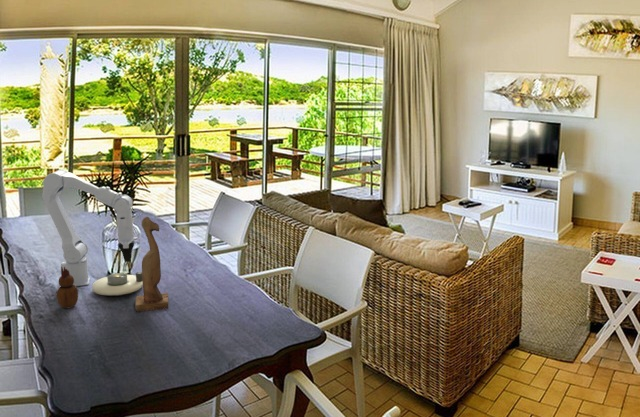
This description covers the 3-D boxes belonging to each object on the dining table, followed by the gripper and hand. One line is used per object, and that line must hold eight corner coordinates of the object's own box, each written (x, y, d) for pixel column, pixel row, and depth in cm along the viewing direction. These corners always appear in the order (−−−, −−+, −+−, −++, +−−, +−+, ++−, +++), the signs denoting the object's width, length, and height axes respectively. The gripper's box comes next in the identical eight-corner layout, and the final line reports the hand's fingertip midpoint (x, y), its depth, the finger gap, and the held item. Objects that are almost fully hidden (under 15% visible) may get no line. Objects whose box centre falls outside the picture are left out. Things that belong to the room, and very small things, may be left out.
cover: (107, 286, 213) (107, 279, 212) (108, 280, 219) (107, 273, 218) (127, 284, 215) (127, 277, 214) (127, 278, 221) (127, 271, 221)
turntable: (90, 297, 207) (89, 285, 205) (94, 280, 223) (93, 269, 222) (143, 292, 212) (142, 280, 211) (142, 276, 228) (142, 265, 227)
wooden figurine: (65, 311, 197) (61, 269, 193) (54, 307, 200) (50, 266, 196) (82, 305, 202) (78, 264, 199) (72, 301, 205) (68, 261, 202)
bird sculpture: (170, 309, 200) (169, 219, 194) (135, 312, 196) (133, 221, 190) (167, 298, 211) (166, 212, 204) (134, 301, 207) (131, 214, 200)
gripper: (136, 231, 215) (138, 266, 218) (136, 222, 228) (138, 254, 231) (116, 232, 213) (118, 267, 216) (117, 223, 226) (120, 256, 229)
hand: (127, 261), depth 223 cm, fingers closed
